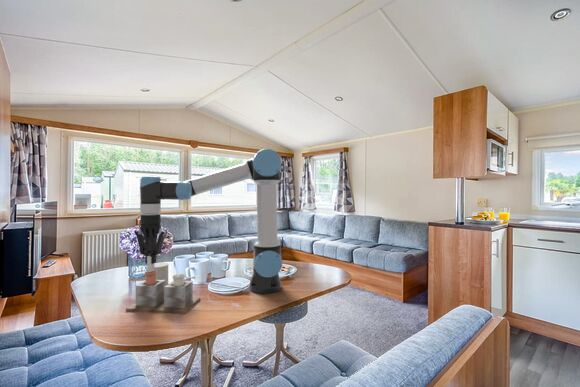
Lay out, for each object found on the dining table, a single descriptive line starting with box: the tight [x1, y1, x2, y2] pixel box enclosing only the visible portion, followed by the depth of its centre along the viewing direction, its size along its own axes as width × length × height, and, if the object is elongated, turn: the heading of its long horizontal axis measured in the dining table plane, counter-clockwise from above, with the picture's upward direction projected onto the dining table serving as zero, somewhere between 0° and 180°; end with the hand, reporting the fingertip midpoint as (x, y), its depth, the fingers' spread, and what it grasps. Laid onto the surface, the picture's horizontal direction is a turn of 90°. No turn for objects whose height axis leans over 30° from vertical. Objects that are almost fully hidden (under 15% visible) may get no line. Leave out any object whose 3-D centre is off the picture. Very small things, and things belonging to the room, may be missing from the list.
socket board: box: [125, 280, 201, 315], centre depth 118 cm, size 24×14×9 cm, turn 84°
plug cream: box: [172, 273, 186, 286], centre depth 117 cm, size 5×5×10 cm
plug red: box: [144, 270, 157, 285], centre depth 118 cm, size 5×5×10 cm
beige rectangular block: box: [154, 262, 169, 286], centre depth 135 cm, size 8×8×12 cm
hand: (150, 271), depth 118 cm, fingers closed
